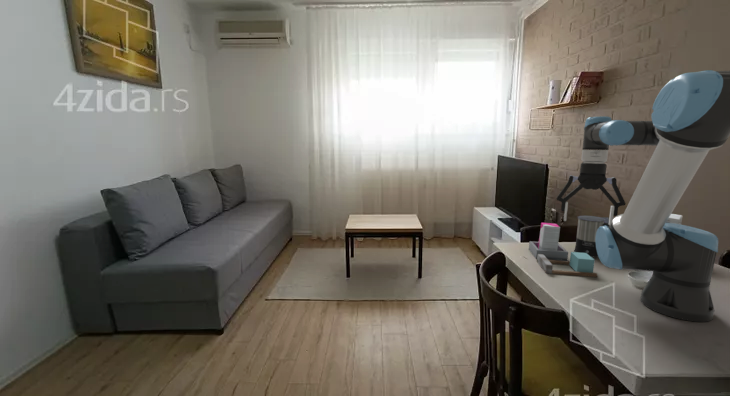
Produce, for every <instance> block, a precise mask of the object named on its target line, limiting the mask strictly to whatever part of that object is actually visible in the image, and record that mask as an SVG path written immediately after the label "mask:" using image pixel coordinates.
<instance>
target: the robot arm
mask: <svg viewBox="0 0 730 396" xmlns="http://www.w3.org/2000/svg"><path fill="white" fill-rule="evenodd" d="M651 109H652V113H651V120H624V119H613V118H612V117H611V116H603V115H602V116H590V117H587V118H586V119H585V122H584V127H583V139H582V141H583V142H582V150H581V159H580V160H581V162H582V163H580V168H579V169H580V170H579V175H578V176H575V175H571V174H570V175H569V177H568V181H567V182H566V183H565V185H564V187H563V188H562V190H561V191H560V192H559V194H558V195H557V196H556V201H559V202H561V208H560V210H561V212H564V214H563V222H567V216H568V209H569V207H568V206H569V202H568V201H569V200H570V199H571V198H572V197H573V196H575V195H576V194H577V193H578V192H579V191H581V190H582V189H584V190H595V191H596V190H600V191H601V192H602V193H603V194H604V195H605V196H606V198H607V199H608V200H609V201H610V203H612V205H610V209H609V217H608V218H609V226H606V225H605V226H601V227H599V228H598V229H597V232H596V238H595V242H596V250H597V254H598V257H597V258H598V259H599V261H600V262H601V264H602V265H604V266H605V267H606V268H611V269H617V270H629V271H644V272H646V271H647V272H652V275H651V277H650V279H649V280H648V282H647V283H646V284H645V286H644V287H643V289H642V290H641V293H640V301H641V303H642V304H643V305H644V306H645V307H647V308H648V309H651V310H652V311H655V312H657V313H659V314H661V315H665V316H667V317H671V318H674V319H678V320H683V321H688V322H696V323H697V322H699V323H701V322H702V323H703V322H704V323H705V322H710V321H712V320H713V319H714V314H715V307H714V303H713V299H712V294H711V290H710V288H711V286H710V285H711V281H712V278H713V277H712V276H713V271H714V268H715V264H716V263H715V261H716V258H717V253H719V238H718V236H717V235H716V234H715V233H712V232H710V231H707V230H704V229H701V228H697V227H694V226H689V225H685V224H681V225H680V224H675V223H666V221H667V220H668V218H669V217H670V215H671V214H673V212H674V210H675V208H676V206H677V205H678V203H679V202H680V200H681V198H682V197H683V195H684V193H685V192H686V190H687V188H688V187H689V185H690V184H691V182H692V180H693V178H694V177H695V175H696V173H697V172H698V170H699V168H700V167H701V165H702V163H703V162H704V160H705V158H706V157H707V155H708V153H709V152H710V151H711V150H715V149H718V148H721V147H723V146H724V144H725V143H726V141H727V140H728V138H730V70H713V69H712V70H711V69H710V70H701V71H694V72H693V71H692V72H685V73H682V74H679V75H677V76H676V77H674V78H672V79H670V80H669V81H668V82H667V83H666V84H665V85H664V86H663V87H662V88H661V89H660V91H659V93H658V94H657V96H656V98H655V100H654V102H653V104H652V108H651ZM612 119H613V120H612ZM609 146H612V147H613V146H656V147H655V149H654V150H653V153H652V155H651V157H650V159H649V162H648V163H647V165H646V167H645V170H643V171H644V172H643V173H642V176H641V178H640V179H639V182H638V183H637V185H636V188H635V190H634V191H633V194H632V196H631V197H630V200H629V201H628V204H627V205H626V201H625V199H624V197H623V195H622V193H621V190H620V188H619V187H618V185H617V178H616V177H614V176H612V177H606V174H607V173H606V172H607V164H606V163H607V162H608V156H609V151H610V150H609V148H610V147H609ZM576 181H578V182H579V184H578V185H577V186H576V187H575V188H574V189H573V190H572V191H570V192H569V193H568V194H567V195H566V196H564V195H565V193H566V192H567V191H568V189H569V188H570V186H571V185H572V183H575V182H576ZM607 182H608V184H610V185H611V186H612V189H613V191H614V194H615V195H616V197H617V200H618V201H616V199H615V198H614V197H613V196H612V195H611V194H610V193H609V192H608V191H607V189H606V188H605V187H604V184H606V183H607ZM563 196H564V197H563ZM622 206H627V207H626V208H625V210H624V212H623V213H621V214H619V207H622Z"/></svg>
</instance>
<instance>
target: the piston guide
mask: <svg viewBox="0 0 730 396" xmlns="http://www.w3.org/2000/svg"><path fill="white" fill-rule="evenodd" d="M536 262H537V263H538V265H539V266H540V268H541V269H542V271H544V273H545V274H554V275H555V274H556V275H567V276H580V277H592V278H593V277H594V278H598V273H597V272H593V273H588V272H576V271H575V270H574V271H572V270H562V269H561V270H559V269H554V265H553V264H555V265H556V264H557V265H567V266H570V265H569V264H570V260H569V261H568V260H567V261H560V260H548V259H547V258H546V257H545V256H544V255H543V254H538V255H537V259H536Z"/></svg>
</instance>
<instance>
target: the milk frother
mask: <svg viewBox="0 0 730 396" xmlns="http://www.w3.org/2000/svg"><path fill="white" fill-rule="evenodd" d="M577 220H578V222H577V230H576V238H575V239H576V240H575V246H574V251H573V252H579V253H587V254H588V255H589V256H591V257H592V258H599V257H598V254H597V250H596V242H595V238H596V232H597V229H598V228H599V227H601V226H605V225H606V226H609V223H605V222H604V221H605V219H604V218H603V217H601V216H600V217H599V216H594V215H579V216H577Z"/></svg>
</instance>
